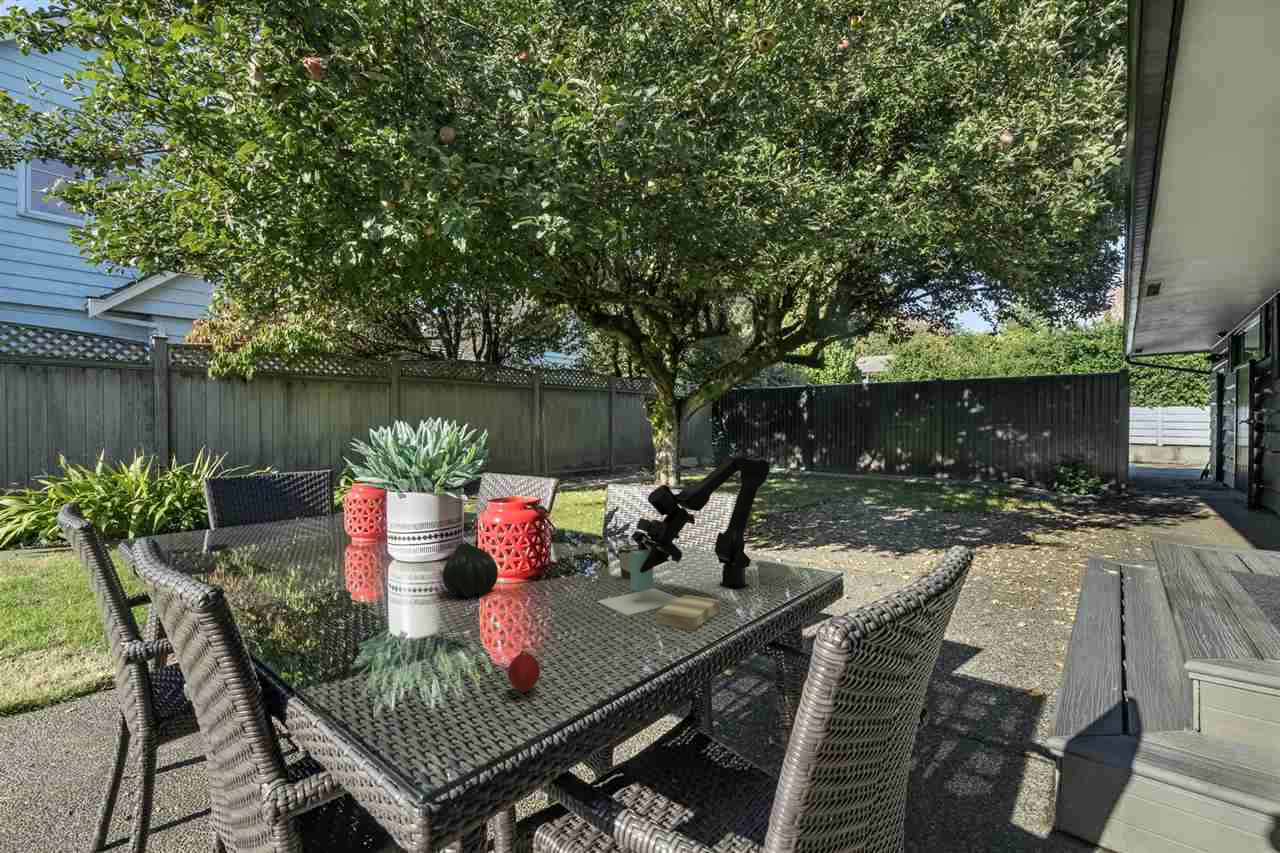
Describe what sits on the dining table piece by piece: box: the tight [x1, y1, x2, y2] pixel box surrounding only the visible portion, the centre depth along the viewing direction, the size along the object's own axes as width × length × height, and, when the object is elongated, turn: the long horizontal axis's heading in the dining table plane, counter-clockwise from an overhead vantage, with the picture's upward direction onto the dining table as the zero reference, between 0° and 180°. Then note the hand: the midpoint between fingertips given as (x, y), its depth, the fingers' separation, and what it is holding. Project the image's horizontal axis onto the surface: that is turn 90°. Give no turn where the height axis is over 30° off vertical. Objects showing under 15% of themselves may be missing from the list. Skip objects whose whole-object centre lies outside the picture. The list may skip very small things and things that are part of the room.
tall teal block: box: [630, 550, 654, 592], centre depth 166 cm, size 5×4×10 cm
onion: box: [507, 649, 541, 693], centre depth 113 cm, size 6×6×8 cm
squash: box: [442, 542, 499, 598], centre depth 174 cm, size 14×15×15 cm
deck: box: [656, 594, 720, 632], centre depth 154 cm, size 16×10×3 cm, turn 151°
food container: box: [616, 543, 639, 581], centre depth 190 cm, size 12×6×10 cm, turn 84°
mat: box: [596, 588, 680, 617], centre depth 166 cm, size 20×14×1 cm
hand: (637, 570), depth 165 cm, fingers closed on tall teal block, 3 cm apart
